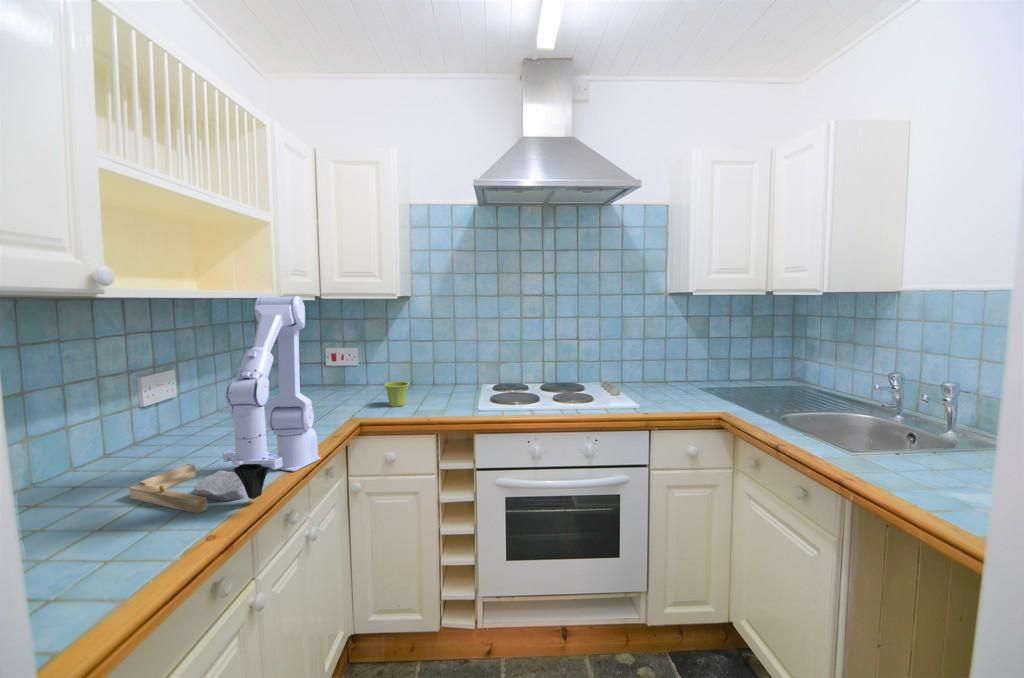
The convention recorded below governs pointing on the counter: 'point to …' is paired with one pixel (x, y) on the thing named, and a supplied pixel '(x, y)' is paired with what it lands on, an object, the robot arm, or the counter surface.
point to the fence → (169, 491)
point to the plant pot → (397, 393)
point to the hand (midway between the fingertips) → (254, 496)
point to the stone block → (221, 487)
